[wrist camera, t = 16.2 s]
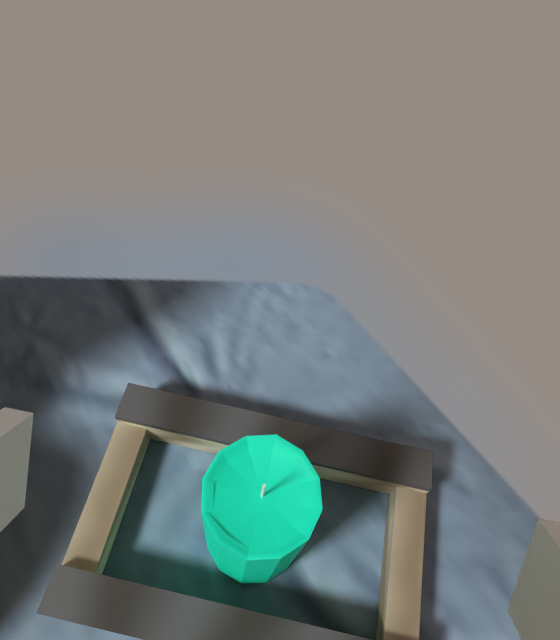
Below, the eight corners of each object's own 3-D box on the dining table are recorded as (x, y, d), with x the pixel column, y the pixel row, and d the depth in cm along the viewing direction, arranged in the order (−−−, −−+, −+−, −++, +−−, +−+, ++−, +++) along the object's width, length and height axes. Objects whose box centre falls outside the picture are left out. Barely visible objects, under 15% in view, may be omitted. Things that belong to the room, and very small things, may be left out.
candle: (221, 477, 36) (219, 410, 26) (306, 498, 36) (338, 439, 26) (194, 571, 33) (180, 537, 23) (288, 595, 33) (316, 571, 23)
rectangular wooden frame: (52, 616, 31) (36, 613, 28) (134, 400, 38) (128, 382, 36) (404, 702, 30) (421, 707, 28) (419, 465, 38) (433, 452, 35)
